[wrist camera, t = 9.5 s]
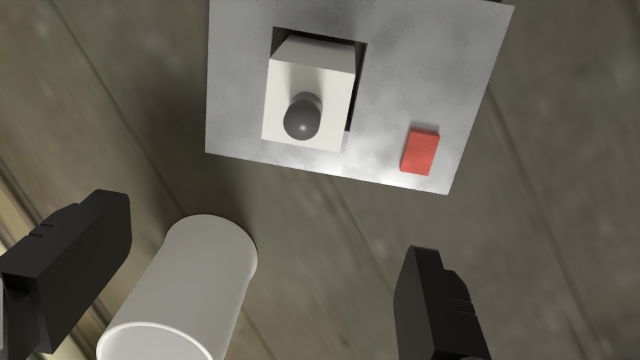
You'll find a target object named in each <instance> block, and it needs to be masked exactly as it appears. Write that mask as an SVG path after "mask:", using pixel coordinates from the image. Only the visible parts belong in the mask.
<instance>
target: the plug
mask: <svg viewBox="0 0 640 360" xmlns="http://www.w3.org/2000/svg"><path fill="white" fill-rule="evenodd" d="M354 79H355V46H351V45H345V44H340V43H334V42H329V41H323V40H318V39H312V38H307V37H301V36H295V35H289V36H288V38H287V39H286V40H285V41H284V42H283V43H282V45H281V46H280V47H279V48H278V49H277V50H276V52H275V53H274V54H273V55H272V56H271V58H270V59H269V67H268V77H267V87H266V97H265V107H264V117H263V127H262V137H261V139H264V140H270V141H275V142H281V143H287V144H292V145H298V146H304V147H309V148H315V149H321V150H326V151H332V152H338V153H340V149H341V144H342V139H343V134H344V129H345V124H346V119H347V114H348V109H349V104H350V99H351V94H352V89H353V84H354Z"/></svg>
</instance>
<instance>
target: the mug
mask: <svg viewBox="0 0 640 360" xmlns="http://www.w3.org/2000/svg"><path fill="white" fill-rule="evenodd" d="M257 262H258V256H257V251H256V247H255V245H254V243H253V241H252V240H251V238H250V237H249V235H248V234H247V233H246V232H245V231H244V230H243V229H242V228H240V227H239V226H238V225H236V224H235V223H233V222H231V221H229V220H227V219H225V218H222V217H219V216H214V215H206V214H200V215H193V216H189V217H186V218H183V219H181V220H180V221H178V222H177V223H175V224H174V225H173V226H172V227H171V228H170V230H169V231H168V233H167V235H166V237H165V240H164V243H163V245H162V247H161V248H160V250H159V251H158V253H157V254H156V256H155V257H154V259H153V260H152V262H151V263H150V265H149V266H148V268H147V269H146V270H145V272H144V273H143V275H142V276H141V278H140V279H139V281H138V282H137V284H136V285H135V287H134V288H133V290H132V291H131V293H130V294H129V296H128V297H127V299H126V300H125V302H124V303H123V305H122V306H121V308H120V309H119V311H118V312H117V314H116V315H115V317H114V318H113V320H112V321H111V322H110V324H109V325H108V327H107V328H106V330H105V331H104V333H103V334H102V336H101V338H100V339H99V341H98V344H97V348H96V356H97V360H224V357H225V354H226V351H227V348H228V345H229V342H230V339H231V336H232V332H233V329H234V326H235V323H236V320H237V317H238V314H239V311H240V308H241V305H242V302H243V299H244V296H245V293H246V289H247V287H248V284H249V281H250V279H251V278H252V276H253V275H254V273H255V270H256V268H257Z"/></svg>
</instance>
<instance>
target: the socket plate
mask: <svg viewBox="0 0 640 360" xmlns="http://www.w3.org/2000/svg"><path fill="white" fill-rule="evenodd" d="M514 8H515V6H513V5H509V4H505V3H502V2H496V1H491V0H210V11H209V43H208V74H207V106H206V138H205V152H206V153H212V154H217V155H223V156H229V157H234V158H240V159H246V160H251V161H257V162H263V163H268V164H274V165H280V166H285V167H291V168H297V169H302V170H308V171H314V172H319V173H325V174H331V175H337V176H342V177H348V178H354V179H359V180H365V181H371V182H376V183H382V184H388V185H393V186H399V187H405V188H410V189H416V190H422V191H427V192H433V193H439V194H444V195H448V193H449V190H450V187H451V184H452V181H453V179H454V176H455V173H456V170H457V167H458V165H459V162H460V159H461V156H462V153H463V151H464V148H465V145H466V142H467V139H468V137H469V134H470V131H471V128H472V125H473V123H474V120H475V117H476V114H477V111H478V109H479V106H480V103H481V100H482V97H483V95H484V92H485V89H486V86H487V83H488V81H489V78H490V75H491V72H492V69H493V66H494V64H495V61H496V58H497V55H498V52H499V50H500V47H501V44H502V41H503V38H504V36H505V33H506V30H507V27H508V24H509V22H510V19H511V16H512V13H513V10H514ZM279 27H281V28H287V29H293V30H298V31H304V32H309V33H315V34H320V35H326V36H331V37H337V38H342V39H348V40H354V41H359V42H365V48H364V53H363V58H362V63H361V67H360V72H359V77H358V82H357V87H356V92H355V97H354V101H353V106H352V111H351V116H350V120H348V119H346V124H345V129H344V134H343V139H342V144H341V149H340V153H338V152H332V151H326V150H321V149H315V148H309V147H304V146H298V145H292V144H287V143H281V142H275V141H270V140H264V139H261V137H262V127H263V117H264V107H265V97H266V87H267V77H268V67H269V59H270V58H271V56H272V55H273V54H274V53H275V52H276V47H277V38H278V29H279Z"/></svg>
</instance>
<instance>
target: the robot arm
mask: <svg viewBox="0 0 640 360" xmlns="http://www.w3.org/2000/svg"><path fill="white" fill-rule="evenodd" d="M131 244H132V231H131V216H130V201H129V197H128V195H127V194H124V193H119V192H113V191H107V190H102V189H97V190H95V191H94V192H92V193H91V194H90V195H89V196H88V197H87V198H86V199H84V200H83V201H82V202H81V203H80V204H77V203H73V204H71V205H69V206H66V207H64V208H62V209H60V210H57V211H55V212H54V213H52V214H51V215H50V216H49V217H48V218H46V219H45V220H44V221H43V222H42V223H41V224H40V226H37V227H36V228H34V229H33V230H32V231H31V232H29V235H28V236H25V237H23V238H22V239H21V240H20V241H19V242H17V243H16V244H15V245H14V246H13V247H11V248H10V249H9V250H8V251H7V252H5V253H4V254H3V255H2V256H0V360H26V359H27V357H28V356H29V355H30V354H31V353H32V351H35V352H41V353H47V354H52V355H53V353H54V352H55V351H56V349H57V348H58V347H59V346H60V344H61V343H62V342H63V340H64V339H65V338H66V336H67V335H68V334H69V333H70V331H71V330H72V329H73V327H74V326H75V325H76V324H77V322H78V321H79V320H80V318H81V317H82V316H83V314H84V313H85V312H86V311H87V309H88V308H89V307H90V305H91V304H92V303H93V302H94V300H95V299H96V298H97V296H98V295H99V294H100V292H101V291H102V290H103V289H104V287H105V286H106V285H107V283H108V282H109V281H110V280H111V278H112V277H113V276H114V274H115V273H116V272H117V270H118V269H119V268H120V267H121V265H122V264H123V263H124V261H125V260H126V258H127V257H128V254H129V252H130V249H131ZM394 316H395V325H396V334H397V343H398V352H399V360H492V359H491V356H490V353H489V350H488V347H487V344H486V342H485V339H484V336H483V333H482V330H481V327H480V324H479V321H478V318H477V316H475V310H474V307H473V304H472V303H471V298H470V295H469V292H468V289H467V287H466V285H465V283H464V282H463V281H462V280H461V279H460V277H459V276H458V275H457V274H456V273H455V271H451V270H445V269H444V267H443V264H442V261H441V257H440V254H439V251H438V250H435V249H430V248H424V247H418V246H413V245H411V246H410V247H409V249H408V251H407V254H406V257H405V260H404V263H403V266H402V269H401V272H400V275H399V278H398V281H397V285H396V288H395V293H394Z"/></svg>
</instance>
